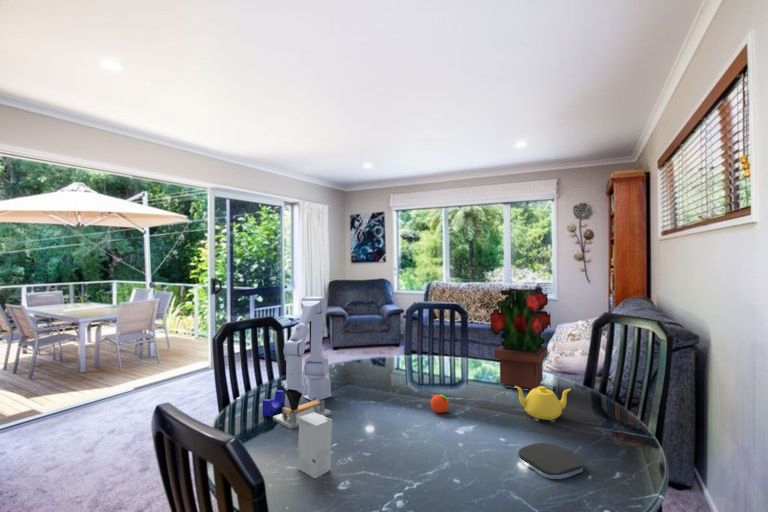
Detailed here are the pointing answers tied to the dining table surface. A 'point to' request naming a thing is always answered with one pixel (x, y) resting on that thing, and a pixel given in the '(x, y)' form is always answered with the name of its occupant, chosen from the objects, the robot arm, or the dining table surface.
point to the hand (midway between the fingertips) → (294, 409)
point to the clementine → (439, 403)
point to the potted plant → (521, 337)
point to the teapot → (543, 403)
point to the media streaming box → (551, 458)
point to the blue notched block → (273, 403)
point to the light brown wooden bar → (303, 406)
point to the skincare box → (314, 444)
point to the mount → (293, 418)
